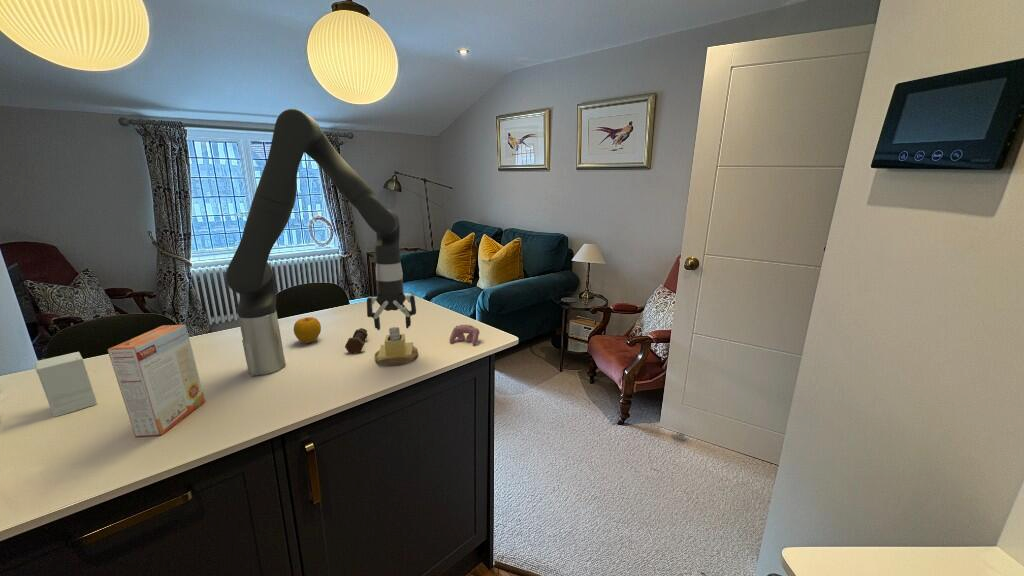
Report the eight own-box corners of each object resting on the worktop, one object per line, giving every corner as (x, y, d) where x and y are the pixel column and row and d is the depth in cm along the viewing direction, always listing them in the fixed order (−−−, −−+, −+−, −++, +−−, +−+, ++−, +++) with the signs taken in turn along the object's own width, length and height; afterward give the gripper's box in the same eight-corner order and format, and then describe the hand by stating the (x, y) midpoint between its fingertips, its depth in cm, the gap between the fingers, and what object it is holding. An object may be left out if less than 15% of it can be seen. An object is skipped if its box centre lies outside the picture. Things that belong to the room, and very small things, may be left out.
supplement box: (94, 395, 100) (80, 350, 97) (97, 404, 96) (83, 358, 93) (51, 407, 95) (35, 360, 92) (52, 418, 90) (35, 369, 87)
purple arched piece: (479, 346, 133) (481, 326, 134) (475, 345, 128) (477, 324, 130) (452, 343, 135) (455, 324, 137) (447, 342, 131) (450, 322, 132)
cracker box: (181, 403, 96) (161, 324, 91) (206, 402, 96) (188, 323, 91) (131, 438, 82) (105, 347, 77) (161, 436, 83) (136, 346, 78)
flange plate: (411, 357, 117) (410, 342, 116) (377, 360, 115) (375, 345, 114) (413, 345, 127) (412, 330, 125) (381, 347, 125) (380, 333, 123)
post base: (417, 363, 116) (414, 334, 114) (372, 368, 114) (369, 338, 111) (418, 347, 129) (416, 320, 126) (378, 350, 126) (375, 323, 124)
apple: (312, 347, 130) (308, 322, 127) (289, 346, 131) (285, 321, 129) (327, 338, 138) (324, 314, 136) (306, 336, 139) (302, 313, 137)
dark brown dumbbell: (365, 341, 139) (357, 357, 125) (352, 335, 138) (342, 351, 124) (372, 327, 139) (365, 341, 124) (359, 321, 137) (350, 335, 123)
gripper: (362, 281, 110) (367, 334, 114) (413, 279, 113) (416, 331, 117) (366, 275, 117) (371, 326, 121) (414, 274, 120) (417, 323, 124)
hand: (393, 328), depth 119 cm, fingers open, 8 cm apart
